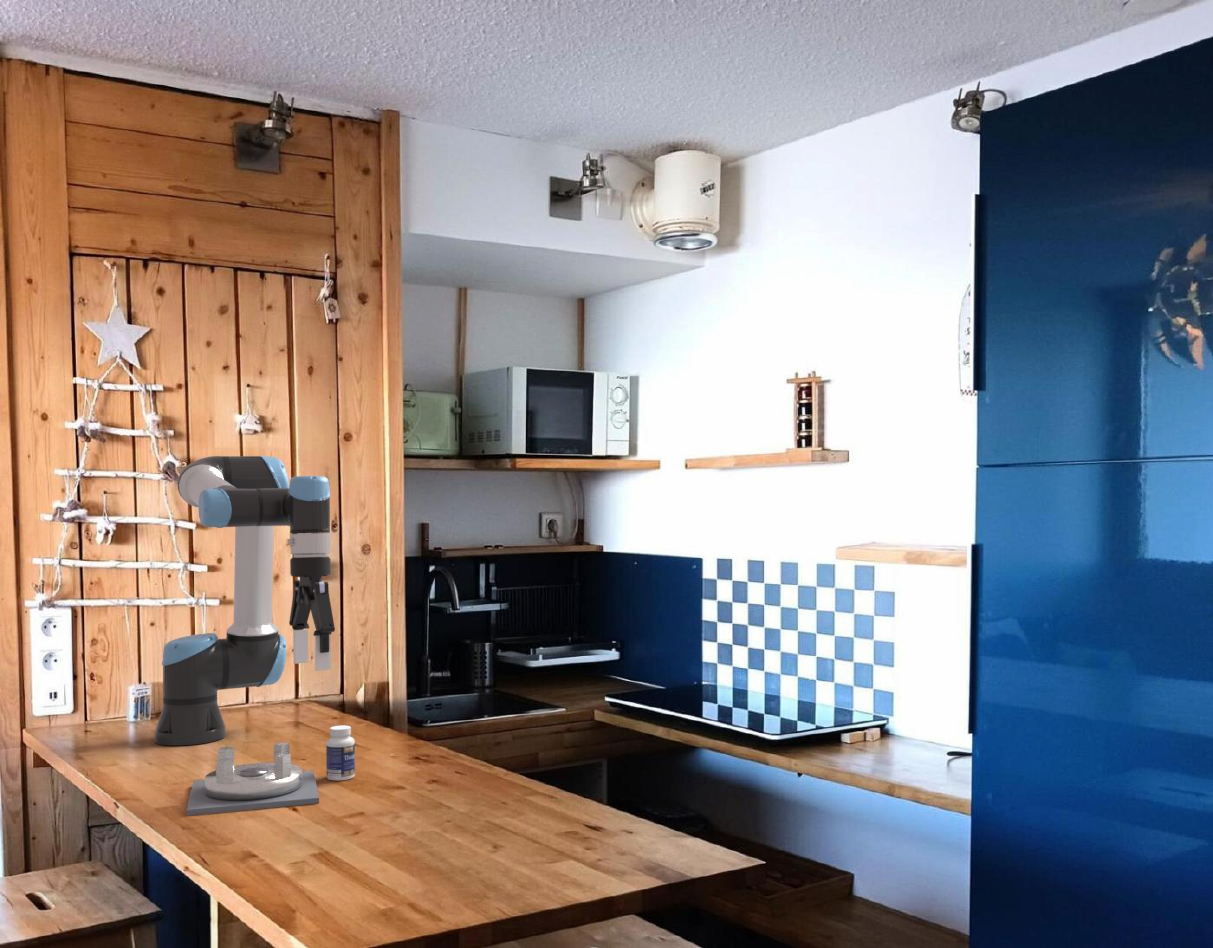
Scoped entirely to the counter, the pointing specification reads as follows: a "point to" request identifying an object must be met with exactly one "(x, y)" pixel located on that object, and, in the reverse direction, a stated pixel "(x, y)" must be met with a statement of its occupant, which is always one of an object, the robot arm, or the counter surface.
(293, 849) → the counter surface
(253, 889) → the counter surface
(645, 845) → the counter surface
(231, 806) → the grey square plate
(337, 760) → the pill bottle
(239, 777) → the grey shallow round piece
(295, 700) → the counter surface
